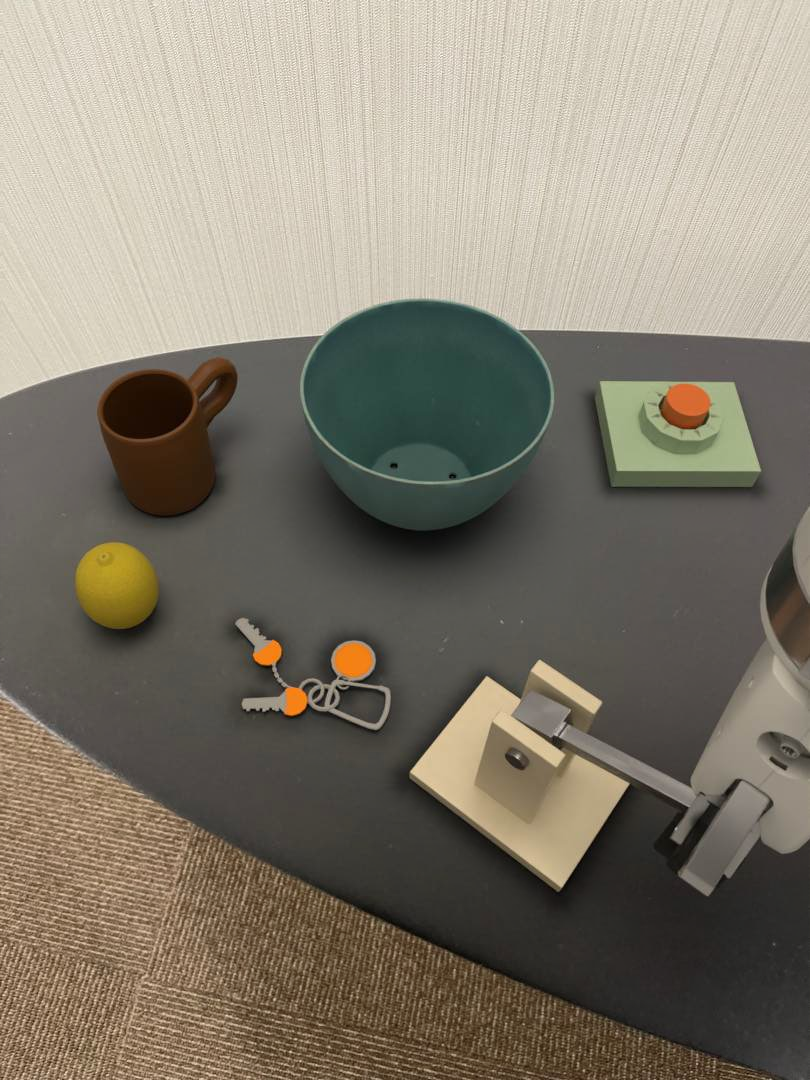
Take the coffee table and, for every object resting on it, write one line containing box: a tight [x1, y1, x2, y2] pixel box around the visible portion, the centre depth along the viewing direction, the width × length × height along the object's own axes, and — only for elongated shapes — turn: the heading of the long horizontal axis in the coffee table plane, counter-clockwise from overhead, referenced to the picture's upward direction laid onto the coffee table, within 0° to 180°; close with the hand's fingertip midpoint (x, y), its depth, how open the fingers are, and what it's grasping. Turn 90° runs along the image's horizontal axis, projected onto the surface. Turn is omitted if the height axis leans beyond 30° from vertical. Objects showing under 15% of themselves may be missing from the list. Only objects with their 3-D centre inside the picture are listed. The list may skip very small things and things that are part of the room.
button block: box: [594, 380, 762, 488], centre depth 77 cm, size 12×10×4 cm
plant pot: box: [299, 297, 555, 531], centre depth 70 cm, size 18×18×12 cm
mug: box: [96, 356, 238, 517], centre depth 72 cm, size 12×8×9 cm, turn 139°
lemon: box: [74, 541, 160, 630], centre depth 64 cm, size 6×6×8 cm
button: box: [661, 383, 711, 429], centre depth 75 cm, size 4×4×2 cm
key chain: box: [234, 617, 392, 731], centre depth 65 cm, size 13×7×1 cm, turn 76°
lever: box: [511, 689, 739, 826], centre depth 51 cm, size 12×5×2 cm, turn 52°
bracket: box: [408, 659, 631, 893], centre depth 57 cm, size 12×9×12 cm
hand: (731, 783), depth 44 cm, fingers open, 9 cm apart
